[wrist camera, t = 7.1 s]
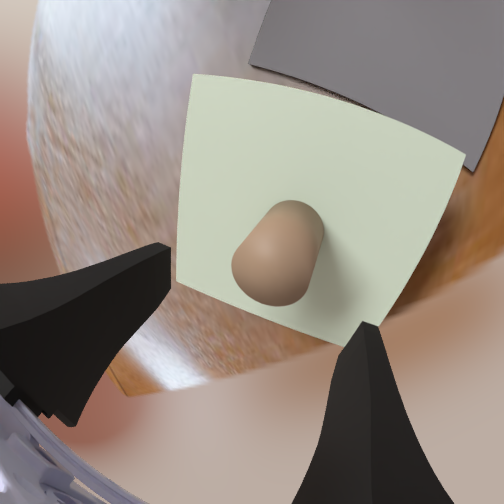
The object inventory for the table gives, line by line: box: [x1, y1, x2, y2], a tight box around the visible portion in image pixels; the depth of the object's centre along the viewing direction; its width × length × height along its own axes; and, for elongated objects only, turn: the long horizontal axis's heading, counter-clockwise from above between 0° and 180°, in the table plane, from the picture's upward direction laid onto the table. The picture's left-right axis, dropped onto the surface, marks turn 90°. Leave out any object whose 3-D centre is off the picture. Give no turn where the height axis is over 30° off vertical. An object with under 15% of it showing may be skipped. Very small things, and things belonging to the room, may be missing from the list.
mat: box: [248, 0, 504, 172], centre depth 8 cm, size 15×15×1 cm
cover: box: [176, 74, 466, 347], centre depth 12 cm, size 13×13×5 cm
